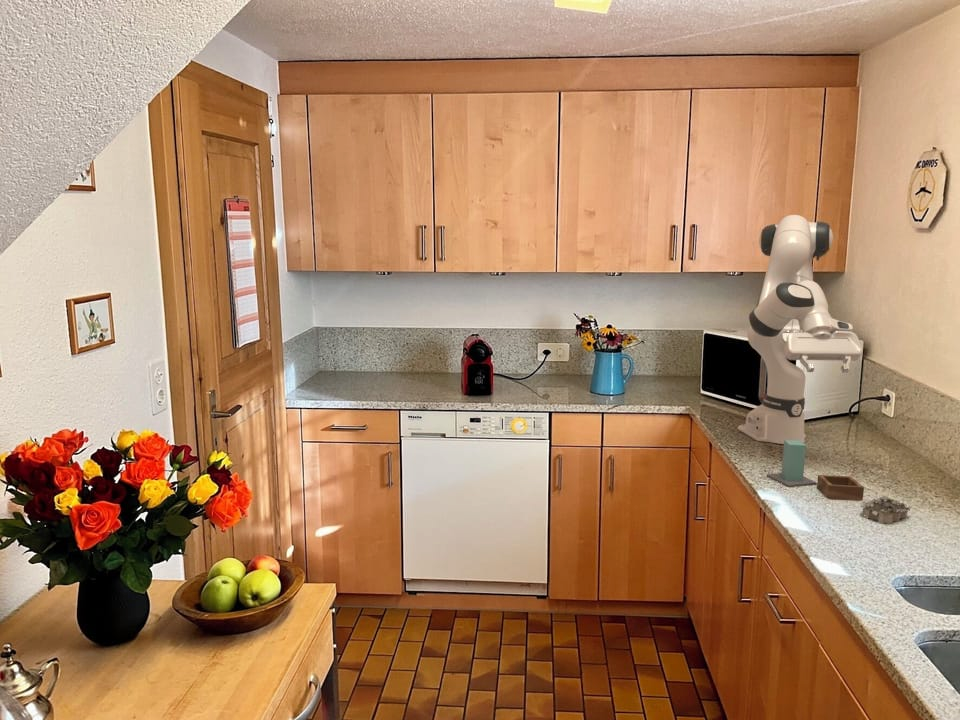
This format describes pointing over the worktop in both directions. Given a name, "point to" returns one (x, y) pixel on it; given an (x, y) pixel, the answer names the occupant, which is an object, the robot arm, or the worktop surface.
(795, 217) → the robot arm
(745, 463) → the worktop surface
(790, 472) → the teal block
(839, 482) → the pocket holder
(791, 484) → the rubber mat
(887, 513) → the egg carton
